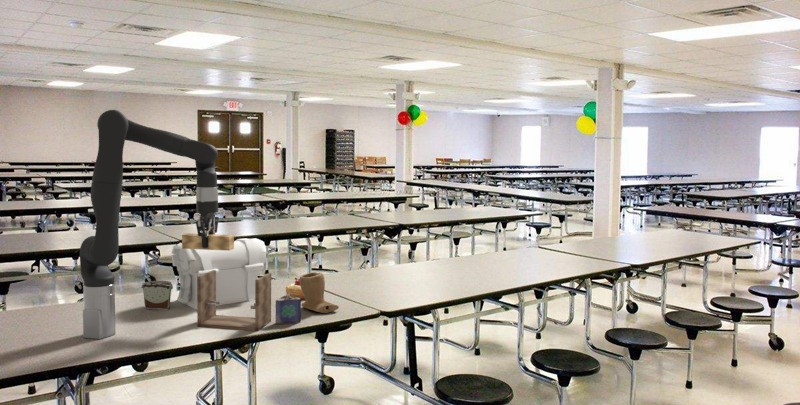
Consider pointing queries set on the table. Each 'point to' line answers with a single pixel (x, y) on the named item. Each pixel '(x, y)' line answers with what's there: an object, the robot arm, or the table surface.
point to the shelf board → (213, 242)
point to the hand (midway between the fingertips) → (208, 246)
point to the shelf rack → (210, 319)
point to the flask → (288, 310)
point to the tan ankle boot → (315, 293)
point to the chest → (221, 270)
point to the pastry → (295, 290)
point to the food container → (157, 294)
